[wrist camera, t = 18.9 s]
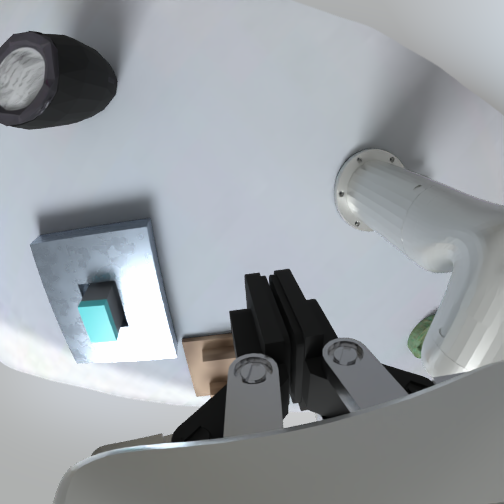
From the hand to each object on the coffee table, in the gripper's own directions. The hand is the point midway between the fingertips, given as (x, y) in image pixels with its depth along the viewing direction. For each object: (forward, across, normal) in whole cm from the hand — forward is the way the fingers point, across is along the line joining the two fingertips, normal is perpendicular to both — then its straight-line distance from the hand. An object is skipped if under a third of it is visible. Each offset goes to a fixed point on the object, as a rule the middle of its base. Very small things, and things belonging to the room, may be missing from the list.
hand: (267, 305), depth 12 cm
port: (+32, +19, +17) cm, 41 cm away
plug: (+32, +19, +17) cm, 41 cm away
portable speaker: (+32, +16, -13) cm, 38 cm away
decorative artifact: (+32, -40, +37) cm, 64 cm away
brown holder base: (+32, +3, +34) cm, 47 cm away
